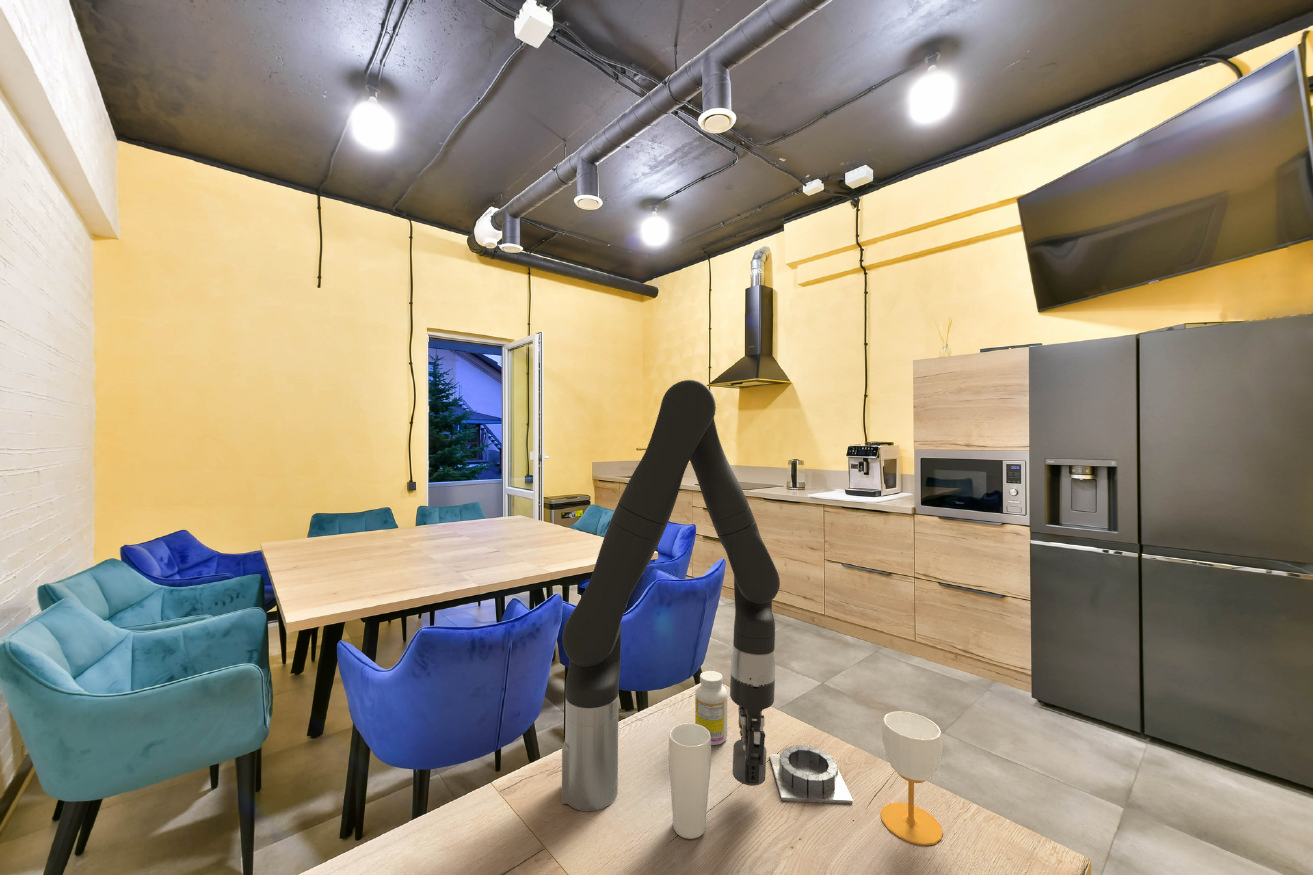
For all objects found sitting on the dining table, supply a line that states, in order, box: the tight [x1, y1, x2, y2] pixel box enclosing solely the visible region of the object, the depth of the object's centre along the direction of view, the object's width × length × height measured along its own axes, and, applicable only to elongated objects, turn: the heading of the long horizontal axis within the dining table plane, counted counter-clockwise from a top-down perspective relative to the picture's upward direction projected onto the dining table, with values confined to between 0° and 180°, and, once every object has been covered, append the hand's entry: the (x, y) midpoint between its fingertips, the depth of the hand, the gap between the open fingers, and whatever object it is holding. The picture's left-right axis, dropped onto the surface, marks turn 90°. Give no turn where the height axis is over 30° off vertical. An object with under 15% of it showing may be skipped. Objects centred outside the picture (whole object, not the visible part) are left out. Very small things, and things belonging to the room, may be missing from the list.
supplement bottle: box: [694, 670, 728, 746], centre depth 106 cm, size 7×7×13 cm
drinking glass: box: [668, 722, 712, 840], centre depth 81 cm, size 7×7×15 cm
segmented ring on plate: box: [768, 744, 853, 805], centre depth 93 cm, size 12×12×3 cm
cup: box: [879, 710, 944, 846], centre depth 82 cm, size 9×9×16 cm
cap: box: [732, 738, 767, 787], centre depth 88 cm, size 6×6×5 cm
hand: (749, 769), depth 88 cm, fingers closed on cap, 5 cm apart
